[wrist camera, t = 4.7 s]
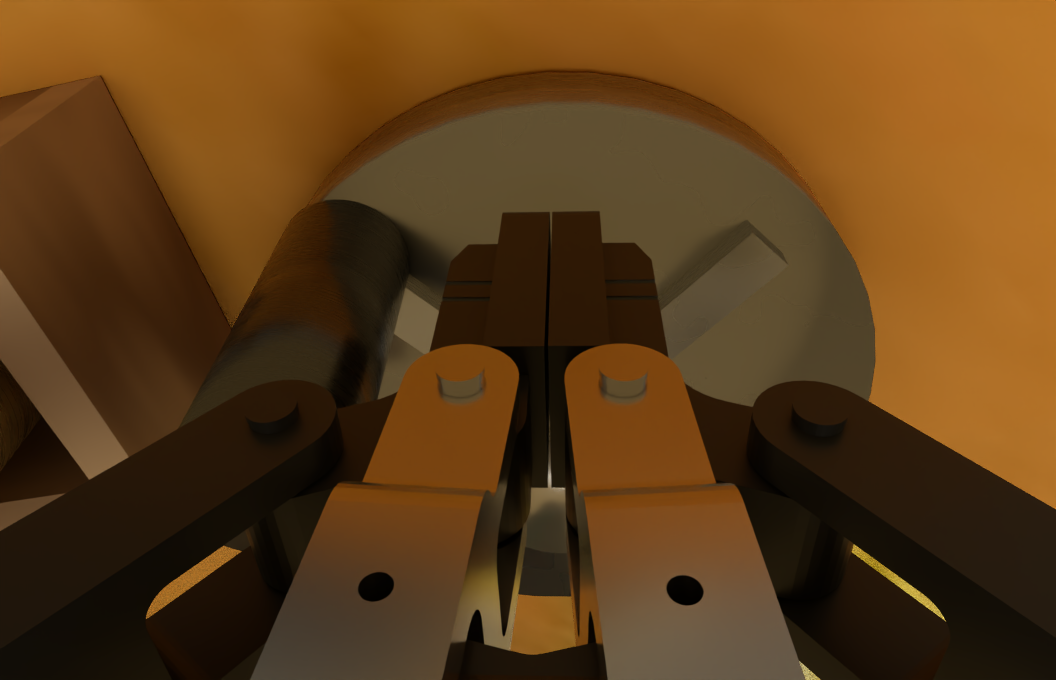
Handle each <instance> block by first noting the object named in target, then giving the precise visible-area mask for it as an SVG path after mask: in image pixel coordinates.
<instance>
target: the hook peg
mask: <svg viewBox="0 0 1056 680" xmlns="http://www.w3.org/2000/svg"><path fill="white" fill-rule="evenodd" d="M41 417H42V415H41V414H40V412H39V411H38V410H37V408H36V407H35V405H34V404H33V403H32V401H31V400H30V399H29V397H28V396H27V395H26V393H25V392H24V391H23V389H22V388H21V386H20V385H19V384H18V382H17V381H16V380H15V378H14V377H13V376H12V374H11V373H10V372H9V370H8V369H7V368H6V366H5V365H4V363H3V362H2V361H1V359H0V471H1V470H2V469H3V467H4V466H5V465H6V463H7V462H8V461H9V459H10V458H11V457H12V455H13V454H14V453H15V451H16V450H17V449H18V448H19V446H20V445H21V444H22V442H23V441H24V440H25V438H26V437H27V436H28V434H29V433H30V432H31V430H32V429H33V428H34V426H35V425H36V424H37V422H38V421H39V420H40V418H41Z"/></svg>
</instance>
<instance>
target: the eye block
mask: <svg viewBox="0 0 1056 680" xmlns="http://www.w3.org/2000/svg"><path fill="white" fill-rule="evenodd" d="M230 331H231V328H230V327H229V325H228V323H227V321H226V319H225V317H224V315H223V313H222V311H221V309H220V307H219V305H218V303H217V301H216V299H215V297H214V296H213V294H212V292H211V290H210V288H209V286H208V284H207V282H206V280H205V278H204V276H203V274H202V272H201V270H200V268H199V266H198V264H197V263H196V261H195V259H194V257H193V255H192V253H191V251H190V249H189V247H188V245H187V243H186V241H185V239H184V237H183V235H182V233H181V232H180V230H179V228H178V226H177V224H176V222H175V220H174V218H173V216H172V214H171V212H170V210H169V208H168V206H167V204H166V202H165V201H164V199H163V197H162V195H161V193H160V191H159V189H158V187H157V185H156V183H155V181H154V179H153V177H152V175H151V173H150V171H149V170H148V168H147V166H146V164H145V162H144V160H143V158H142V156H141V154H140V152H139V150H138V148H137V146H136V144H135V142H134V140H133V138H132V137H131V135H130V133H129V131H128V129H127V127H126V125H125V123H124V121H123V119H122V117H121V115H120V113H119V111H118V109H117V107H116V106H115V104H114V102H113V100H112V98H111V96H110V94H109V92H108V90H107V88H106V86H105V84H104V82H103V80H102V78H101V76H97V77H92V78H88V79H83V80H79V81H74V82H70V83H65V84H61V85H56V86H52V87H47V88H43V89H38V90H33V91H29V92H24V93H20V94H15V95H11V96H6V97H2V98H0V359H1V361H2V362H3V363H4V365H5V366H6V368H7V369H8V370H9V372H10V373H11V374H12V376H13V377H14V378H15V380H16V381H17V382H18V384H19V385H20V386H21V388H22V389H23V391H24V392H25V393H26V395H27V396H28V397H29V399H30V400H31V401H32V403H33V404H34V405H35V407H36V408H37V410H38V411H39V412H40V414H41V415H42V417H41V418H40V420H39V421H38V422H37V424H36V425H35V426H34V428H33V429H32V430H31V432H30V433H29V434H28V436H27V437H26V438H25V440H24V441H23V442H22V444H21V445H20V446H19V448H18V449H17V450H16V451H15V453H14V454H13V455H12V457H11V458H10V459H9V461H8V462H7V463H6V465H5V466H4V467H3V469H2V470H1V471H0V531H1V530H3V529H4V528H6V527H8V526H10V525H11V524H13V523H15V522H17V521H18V520H20V519H22V518H24V517H25V516H27V515H29V514H31V513H32V512H34V511H36V510H38V509H39V508H41V507H43V506H44V505H46V504H48V503H50V502H51V501H53V500H55V499H57V498H58V497H60V496H62V495H64V494H65V493H67V492H69V491H71V490H72V489H74V488H76V487H78V486H79V485H81V484H83V483H85V482H86V481H88V480H90V479H91V478H93V477H95V476H97V475H98V474H100V473H102V472H104V471H105V470H107V469H109V468H111V467H112V466H114V465H116V464H118V463H119V462H121V461H123V460H125V459H126V458H128V457H130V456H132V455H133V454H135V453H137V452H139V451H140V450H142V449H144V448H145V447H147V446H149V445H151V444H152V443H154V442H156V441H158V440H159V439H161V438H163V437H165V436H166V435H168V434H170V433H172V432H173V431H175V430H177V429H178V428H179V426H180V424H181V422H182V420H183V418H184V417H185V415H186V413H187V411H188V409H189V407H190V405H191V404H192V402H193V400H194V398H195V396H196V394H197V392H198V391H199V389H200V387H201V385H202V383H203V381H204V379H205V378H206V376H207V374H208V372H209V370H210V368H211V367H212V365H213V363H214V361H215V359H216V357H217V355H218V354H219V352H220V350H221V348H222V346H223V344H224V342H225V341H226V339H227V337H228V335H229V333H230Z"/></svg>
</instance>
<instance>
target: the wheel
mask: <svg viewBox="0 0 1056 680" xmlns="http://www.w3.org/2000/svg"><path fill="white" fill-rule="evenodd" d="M562 211H600V221H601V234H602V243H636V244H637V245H638V246H639V247H640V248H641V249H642V250H643V251H644V252H645V253H646V254H647V255H648V256H649V258H650V259H651V260H652V265H653V271H654V276H655V283H656V288H657V293H658V300H659V305H660V311H661V316H662V322H663V328H664V333H665V339H666V345H667V351H668V356H669V358H670V359H671V360H672V361H673V362H674V363H675V364H676V365H677V367H678V368H679V370H680V372H681V374H682V377H683V380H684V382H685V383H686V384H687V385H689V386H690V387H692V388H693V389H695V390H697V391H699V392H701V393H703V394H705V395H708V396H710V397H713V398H716V399H720V400H724V401H728V402H732V403H737V404H741V405H746V406H751V407H753V405H754V403H755V401H756V399H757V397H758V396H759V395H760V394H761V393H762V392H764V391H765V390H766V389H768V388H770V387H772V386H774V385H777V384H780V383H784V382H790V381H803V380H805V381H817V382H823V383H828V384H832V385H835V386H838V387H841V388H844V389H846V390H849V391H851V392H853V393H855V394H856V395H858V396H860V397H862V398H864V399H865V400H867V401H868V399H869V396H870V393H871V387H872V380H873V373H874V367H875V328H874V323H873V317H872V312H871V307H870V302H869V297H868V293H867V291H866V288H865V286H864V283H863V281H862V278H861V276H860V273H859V270H858V268H857V265H856V263H855V261H854V259H853V257H852V256H851V254H850V252H849V251H848V249H847V248H846V246H845V244H844V243H843V241H842V239H841V238H840V236H839V234H838V233H837V231H836V229H835V228H834V226H833V225H832V223H831V222H830V220H829V218H828V217H827V215H826V214H825V212H824V211H823V209H822V207H821V206H820V204H819V203H818V201H817V200H816V198H815V196H814V195H813V193H812V192H811V190H810V188H809V187H808V185H807V184H806V182H805V181H804V180H803V179H802V178H801V176H800V175H799V174H798V173H797V172H796V171H795V169H794V168H793V167H792V166H791V165H790V164H789V162H788V161H787V160H786V159H785V158H784V157H783V156H782V154H781V153H779V152H778V151H777V150H776V149H775V148H773V147H772V146H771V145H770V144H769V143H768V142H766V141H765V140H764V139H763V138H762V137H761V136H759V135H758V134H757V133H756V132H755V131H753V130H752V129H751V128H749V127H748V126H746V125H744V124H743V123H741V122H740V121H738V120H736V119H735V118H733V117H731V116H730V115H728V114H727V113H725V112H723V111H722V110H720V109H719V108H717V107H715V106H712V105H710V104H708V103H706V102H703V101H701V100H699V99H696V98H694V97H692V96H689V95H687V94H685V93H683V92H680V91H678V90H675V89H671V88H667V87H664V86H660V85H657V84H653V83H649V82H646V81H642V80H639V79H635V78H628V77H620V76H613V75H606V74H598V73H591V72H543V73H535V74H527V75H519V76H512V77H504V78H498V79H494V80H491V81H487V82H483V83H479V84H476V85H472V86H468V87H464V88H460V89H457V90H454V91H452V92H450V93H447V94H445V95H442V96H440V97H438V98H435V99H433V100H430V101H428V102H426V103H423V104H421V105H418V106H416V107H415V108H413V109H411V110H410V111H408V112H406V113H404V114H403V115H401V116H399V117H398V118H396V119H394V120H393V121H391V122H389V123H388V124H386V125H384V126H382V127H381V128H380V129H378V130H377V131H376V132H375V133H373V134H372V135H371V136H370V137H368V138H367V139H366V140H365V141H363V142H362V143H361V144H360V145H358V146H357V147H356V148H355V149H353V150H352V151H351V152H350V153H349V154H348V155H347V156H346V157H345V158H344V159H343V160H342V162H341V163H340V164H339V165H338V166H337V167H336V168H335V169H334V170H333V171H332V172H331V173H330V175H329V176H328V177H327V178H326V179H325V180H324V181H323V183H322V184H321V186H320V187H319V189H318V190H317V192H316V193H315V195H314V196H313V198H312V199H311V201H310V202H309V204H308V205H307V207H306V208H304V209H302V210H301V211H300V212H299V213H297V214H296V215H295V216H294V217H293V219H292V220H291V221H290V223H289V224H288V226H287V227H286V229H285V231H284V233H283V235H282V237H281V239H280V240H279V242H278V244H277V246H276V248H275V250H274V252H273V253H272V255H271V257H270V259H269V261H268V263H267V265H266V266H265V268H264V270H263V272H262V274H261V276H260V278H259V279H258V281H257V283H256V285H255V287H254V289H253V290H252V292H251V294H250V296H249V298H248V300H247V302H246V303H245V305H244V307H243V309H242V311H241V313H240V315H239V316H238V318H237V320H236V322H235V324H234V326H233V328H232V329H231V331H230V333H229V335H228V337H227V339H226V341H225V342H224V344H223V346H222V348H221V350H220V352H219V354H218V355H217V357H216V359H215V361H214V363H213V365H212V367H211V368H210V370H209V372H208V374H207V376H206V378H205V379H204V381H203V383H202V385H201V387H200V389H199V391H198V392H197V394H196V396H195V398H194V400H193V402H192V404H191V405H190V407H189V409H188V411H187V413H186V415H185V417H184V418H183V420H182V422H181V424H180V426H179V428H180V427H182V426H184V425H186V424H187V423H189V422H191V421H192V420H194V419H196V418H198V417H199V416H201V415H203V414H205V413H206V412H208V411H210V410H212V409H213V408H215V407H217V406H219V405H220V404H222V403H224V402H226V401H227V400H229V399H231V398H233V397H234V396H236V395H238V394H240V393H242V392H244V391H245V390H247V389H250V388H252V387H255V386H258V385H261V384H264V383H268V382H273V381H279V380H302V381H308V382H311V383H315V384H317V385H319V386H321V387H323V388H325V389H326V390H327V391H328V392H329V393H330V394H331V395H332V396H333V398H334V401H335V403H336V408H337V409H338V408H343V407H347V406H352V405H356V404H361V403H365V402H370V401H374V400H378V399H381V398H384V397H387V396H389V395H392V394H394V393H396V392H398V390H399V387H400V385H401V382H402V380H403V377H404V375H405V373H406V371H407V369H408V368H409V367H410V366H411V364H412V363H413V362H415V361H416V360H417V359H418V358H420V357H421V356H423V355H425V354H427V353H429V352H430V347H431V343H432V339H433V335H434V330H435V326H436V322H437V318H438V314H439V309H440V305H441V301H442V297H443V292H444V288H445V285H446V280H447V275H448V271H449V267H450V263H451V261H452V260H453V259H454V258H455V257H456V256H457V255H458V254H459V253H460V252H461V251H462V250H463V249H464V248H465V247H466V246H467V245H468V244H498V239H499V232H500V225H501V218H502V213H503V212H550V230H551V239H552V212H562ZM179 428H178V429H179ZM224 546H227V547H230V548H233V549H236V550H240V551H243V550H245V549H246V548H247V547H249V546H250V543H249V540H248V537H247V534H246V531H244V532H242V533H241V534H239V535H238V536H236V537H235V538H234V539H232V540H231V541H229V542H228V543H226V544H225V545H224ZM518 594H522V595H532V596H571V588H570V577H569V567H568V557H567V553H550V552H544V551H539V550H535V549H531V548H528V547H526V546H525V552H524V559H523V566H522V572H521V579H520V586H519V592H518Z"/></svg>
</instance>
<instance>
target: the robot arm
mask: <svg viewBox="0 0 1056 680" xmlns="http://www.w3.org/2000/svg"><path fill="white" fill-rule="evenodd" d="M549 425H550V451H551V488H565V508H566V547H567V557H568V567H569V577H570V588H571V598H572V608H573V618H574V629H575V639H576V647H571V648H567V649H562V650H558V651H553V652H549V653H544V654H538V655H527V654H521V653H517V652H513V651H510V645H511V639H512V632H513V625H514V619H515V612H516V605H517V599H518V592H519V586H520V579H521V572H522V566H523V559H524V552H525V546H526V539H527V526H526V521H527V519H528V516H529V513H530V507H531V488H548V462H549ZM244 531H246V534H247V537H248V540H249V543H250V546H249V547H247V548H246V549H245V550H243V551H242V552H240V553H239V554H238V555H236V556H235V557H233V558H232V559H231V560H229V561H228V562H226V563H225V564H224V565H222V566H221V567H219V568H218V569H217V570H215V571H214V572H212V573H211V574H210V575H208V576H207V577H205V578H204V579H203V580H201V581H200V582H198V583H197V584H196V585H194V586H193V587H191V588H190V589H189V590H187V591H186V592H184V593H183V594H182V595H180V596H179V597H177V598H176V599H175V600H173V601H172V602H170V603H169V604H168V605H166V606H165V607H163V608H162V609H161V610H159V611H158V612H156V613H155V614H154V615H152V616H151V617H149V618H148V619H146V614H147V611H148V609H149V607H150V604H151V603H152V601H153V600H154V598H155V597H156V596H157V594H158V593H159V592H160V591H161V590H162V589H163V588H164V587H165V586H167V585H168V584H169V583H170V582H172V581H173V580H175V579H176V578H178V577H179V576H180V575H182V574H183V573H185V572H186V571H188V570H189V569H191V568H192V567H193V566H195V565H196V564H198V563H199V562H201V561H202V560H203V559H205V558H206V557H208V556H209V555H211V554H212V553H213V552H215V551H216V550H218V549H219V548H221V547H222V546H223V545H225V544H226V543H228V542H229V541H231V540H232V539H234V538H235V537H236V536H238V535H239V534H241V533H242V532H244ZM853 544H855V545H856V546H858V547H859V548H860V549H862V550H863V551H864V552H866V553H867V554H869V555H870V556H871V557H873V558H874V559H876V560H877V561H878V562H880V563H881V564H882V565H884V566H885V567H887V568H888V569H889V570H891V571H892V572H893V573H895V574H896V575H898V576H899V577H900V578H902V579H903V580H905V581H906V582H907V583H909V584H910V585H911V586H913V587H914V588H916V589H917V590H918V591H920V592H921V593H922V594H924V595H925V596H926V597H927V598H929V599H930V600H931V601H932V602H933V603H934V604H935V605H936V607H937V608H938V609H939V610H940V612H941V613H942V615H943V616H944V618H945V620H946V621H944V620H943V619H942V618H940V617H939V616H938V615H936V614H935V613H933V612H932V611H931V610H929V609H928V608H927V607H925V606H924V605H923V604H921V603H920V602H918V601H917V600H916V599H914V598H913V597H912V596H910V595H909V594H908V593H906V592H905V591H903V590H902V589H901V588H899V587H898V586H897V585H895V584H894V583H893V582H891V581H890V580H888V579H887V578H886V577H884V576H883V575H882V574H880V573H879V572H878V571H876V570H875V569H873V568H872V567H871V566H869V565H868V564H867V563H865V562H864V561H863V560H861V559H860V558H859V557H857V556H856V555H854V554H853V553H852V552H851V551H852V548H853ZM799 661H800V662H801V663H803V664H804V665H805V666H806V667H807V668H808V669H809V670H811V671H812V672H813V673H814V674H815V675H816V676H817V677H818V678H820V679H821V680H1056V509H1054V508H1052V507H1051V506H1049V505H1047V504H1045V503H1044V502H1042V501H1040V500H1038V499H1037V498H1035V497H1033V496H1031V495H1030V494H1028V493H1026V492H1025V491H1023V490H1021V489H1019V488H1018V487H1016V486H1014V485H1012V484H1011V483H1009V482H1007V481H1006V480H1004V479H1002V478H1000V477H999V476H997V475H995V474H993V473H992V472H990V471H988V470H986V469H985V468H983V467H981V466H980V465H978V464H976V463H974V462H973V461H971V460H969V459H967V458H966V457H964V456H962V455H960V454H959V453H957V452H955V451H954V450H952V449H950V448H948V447H947V446H945V445H943V444H941V443H940V442H938V441H936V440H935V439H933V438H931V437H929V436H928V435H926V434H924V433H922V432H921V431H919V430H917V429H915V428H914V427H912V426H910V425H909V424H907V423H905V422H903V421H902V420H900V419H898V418H896V417H895V416H893V415H891V414H889V413H888V412H886V411H884V410H883V409H881V408H879V407H877V406H876V405H874V404H872V403H870V402H869V401H867V400H865V399H864V398H862V397H860V396H858V395H856V394H855V393H853V392H851V391H849V390H846V389H844V388H841V387H838V386H835V385H832V384H828V383H823V382H817V381H805V380H803V381H790V382H784V383H780V384H777V385H774V386H772V387H770V388H768V389H766V390H765V391H764V392H762V393H761V394H760V395H759V396H758V397H757V399H756V401H755V403H754V405H753V407H751V406H746V405H741V404H737V403H732V402H728V401H724V400H720V399H716V398H713V397H710V396H708V395H705V394H703V393H701V392H699V391H697V390H695V389H693V388H692V387H690V386H689V385H687V384H686V383H685V382H684V380H683V377H682V374H681V372H680V370H679V368H678V367H677V365H676V364H675V363H674V362H673V361H672V360H671V359H670V358H669V356H668V351H667V345H666V339H665V333H664V328H663V322H662V316H661V311H660V305H659V300H658V293H657V288H656V283H655V276H654V271H653V265H652V260H651V259H650V258H649V256H648V255H647V254H646V253H645V252H644V251H643V250H642V249H641V248H640V247H639V246H638V245H637V244H636V243H602V234H601V221H600V211H562V212H552V239H551V230H550V212H503V213H502V218H501V225H500V232H499V239H498V244H468V245H467V246H466V247H465V248H464V249H463V250H462V251H461V252H460V253H459V254H458V255H457V256H456V257H455V258H454V259H453V260H452V261H451V263H450V267H449V271H448V275H447V280H446V285H445V288H444V292H443V297H442V301H441V305H440V309H439V314H438V318H437V322H436V326H435V330H434V335H433V339H432V343H431V347H430V352H429V353H427V354H425V355H423V356H421V357H420V358H418V359H417V360H416V361H415V362H413V363H412V364H411V366H410V367H409V368H408V369H407V371H406V373H405V375H404V377H403V380H402V382H401V385H400V387H399V390H398V392H396V393H394V394H392V395H389V396H387V397H384V398H381V399H378V400H374V401H370V402H365V403H361V404H356V405H352V406H347V407H343V408H338V409H337V408H336V403H335V401H334V398H333V396H332V395H331V394H330V393H329V392H328V391H327V390H326V389H325V388H323V387H321V386H319V385H317V384H315V383H311V382H308V381H302V380H279V381H273V382H268V383H264V384H261V385H258V386H255V387H252V388H250V389H247V390H245V391H244V392H242V393H240V394H238V395H236V396H234V397H233V398H231V399H229V400H227V401H226V402H224V403H222V404H220V405H219V406H217V407H215V408H213V409H212V410H210V411H208V412H206V413H205V414H203V415H201V416H199V417H198V418H196V419H194V420H192V421H191V422H189V423H187V424H186V425H184V426H182V427H180V428H179V429H177V430H175V431H173V432H172V433H170V434H168V435H166V436H165V437H163V438H161V439H159V440H158V441H156V442H154V443H152V444H151V445H149V446H147V447H145V448H144V449H142V450H140V451H139V452H137V453H135V454H133V455H132V456H130V457H128V458H126V459H125V460H123V461H121V462H119V463H118V464H116V465H114V466H112V467H111V468H109V469H107V470H105V471H104V472H102V473H100V474H98V475H97V476H95V477H93V478H91V479H90V480H88V481H86V482H85V483H83V484H81V485H79V486H78V487H76V488H74V489H72V490H71V491H69V492H67V493H65V494H64V495H62V496H60V497H58V498H57V499H55V500H53V501H51V502H50V503H48V504H46V505H44V506H43V507H41V508H39V509H38V510H36V511H34V512H32V513H31V514H29V515H27V516H25V517H24V518H22V519H20V520H18V521H17V522H15V523H13V524H11V525H10V526H8V527H6V528H4V529H3V530H1V531H0V680H805V677H804V674H803V671H802V668H801V666H800V663H799Z"/></svg>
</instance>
